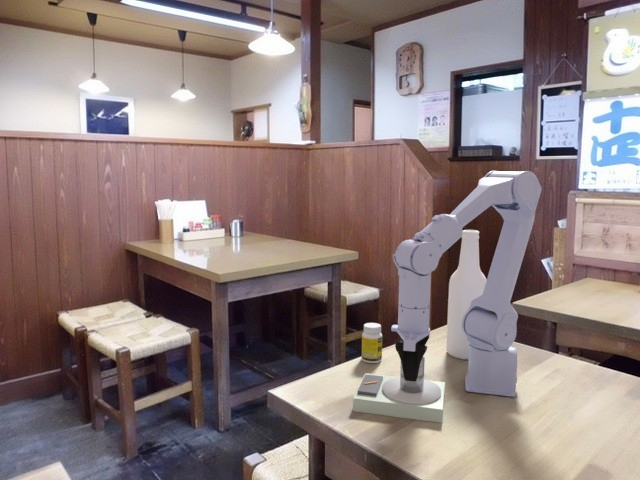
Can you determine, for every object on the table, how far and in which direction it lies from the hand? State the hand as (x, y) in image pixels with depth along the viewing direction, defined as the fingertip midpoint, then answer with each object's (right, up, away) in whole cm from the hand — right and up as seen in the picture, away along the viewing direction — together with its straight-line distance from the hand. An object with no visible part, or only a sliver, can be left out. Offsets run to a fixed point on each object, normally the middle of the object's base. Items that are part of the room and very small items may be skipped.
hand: (411, 375), depth 96 cm
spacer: (0, -3, 0) cm, 3 cm away
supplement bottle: (-5, -3, +23) cm, 24 cm away
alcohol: (+18, -2, +27) cm, 32 cm away
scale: (-2, -6, +1) cm, 6 cm away
